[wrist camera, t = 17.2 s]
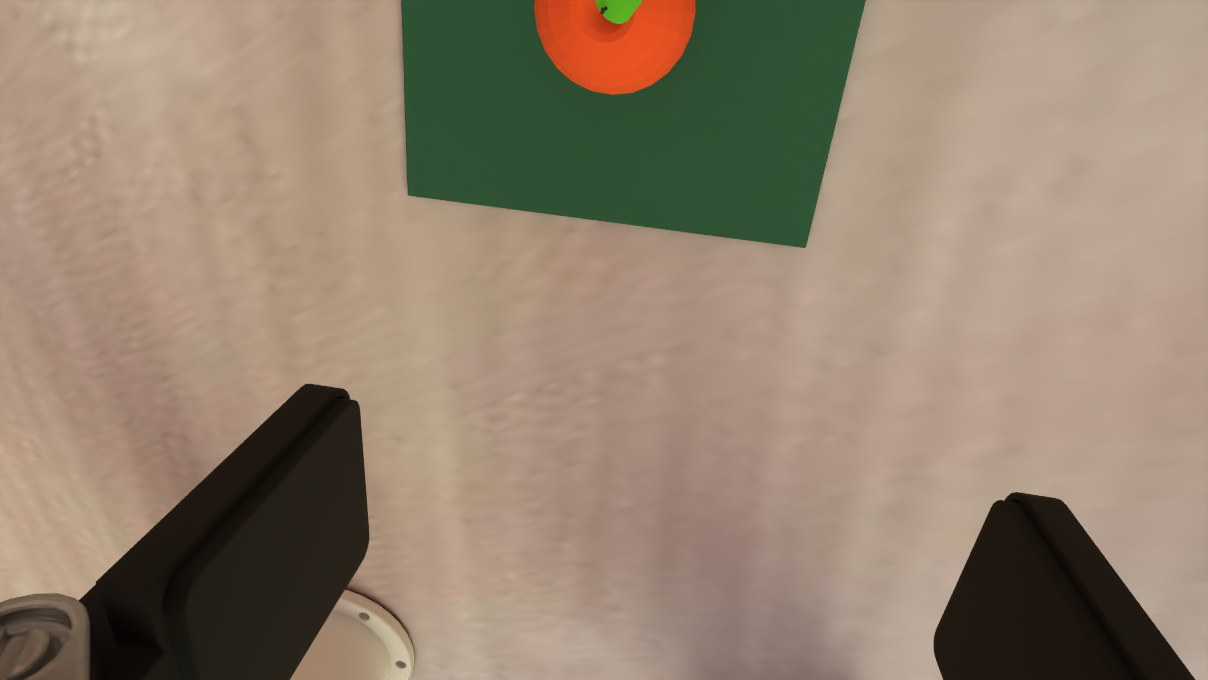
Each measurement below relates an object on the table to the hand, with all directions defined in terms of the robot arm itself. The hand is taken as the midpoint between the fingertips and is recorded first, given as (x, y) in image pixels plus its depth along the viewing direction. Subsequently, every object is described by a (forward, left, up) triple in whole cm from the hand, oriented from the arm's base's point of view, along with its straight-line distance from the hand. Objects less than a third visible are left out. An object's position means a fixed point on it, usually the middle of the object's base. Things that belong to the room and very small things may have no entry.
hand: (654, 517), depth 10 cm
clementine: (-4, +7, -28) cm, 29 cm away
